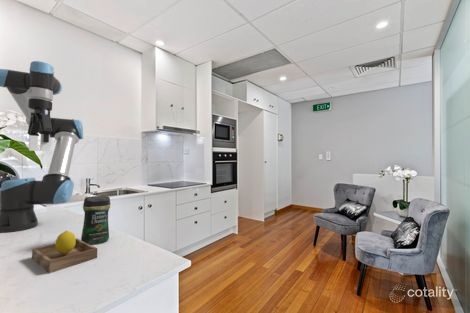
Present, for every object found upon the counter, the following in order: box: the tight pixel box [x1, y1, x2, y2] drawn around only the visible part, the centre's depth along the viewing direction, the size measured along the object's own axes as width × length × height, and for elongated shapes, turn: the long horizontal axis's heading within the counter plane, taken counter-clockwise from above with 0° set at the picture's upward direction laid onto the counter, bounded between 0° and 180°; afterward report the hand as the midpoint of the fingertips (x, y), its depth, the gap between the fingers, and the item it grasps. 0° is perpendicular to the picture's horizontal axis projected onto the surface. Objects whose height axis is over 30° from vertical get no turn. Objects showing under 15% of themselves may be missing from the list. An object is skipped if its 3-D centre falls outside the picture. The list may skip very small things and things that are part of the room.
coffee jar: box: [80, 195, 111, 246], centre depth 91 cm, size 10×8×19 cm
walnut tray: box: [31, 238, 98, 274], centre depth 75 cm, size 16×13×3 cm
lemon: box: [54, 230, 77, 255], centre depth 75 cm, size 6×6×8 cm
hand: (38, 150), depth 93 cm, fingers open, 13 cm apart
